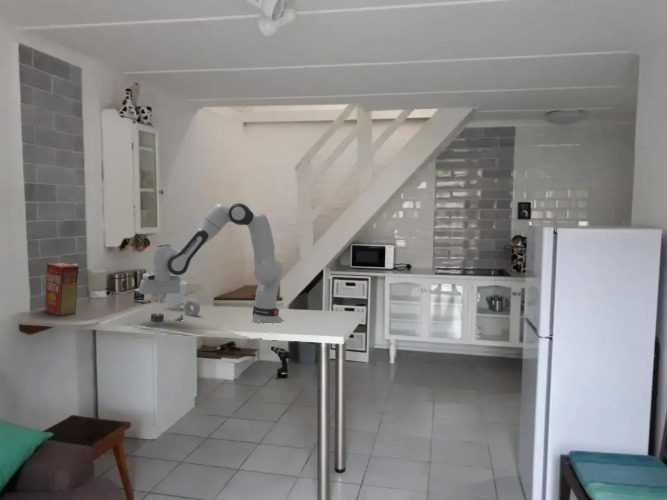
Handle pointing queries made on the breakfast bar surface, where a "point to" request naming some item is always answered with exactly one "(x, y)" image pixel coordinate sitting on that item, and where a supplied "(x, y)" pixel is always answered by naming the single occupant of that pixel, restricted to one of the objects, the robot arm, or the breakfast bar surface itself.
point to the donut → (195, 305)
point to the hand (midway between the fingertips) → (158, 302)
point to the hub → (157, 322)
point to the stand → (179, 318)
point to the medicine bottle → (141, 295)
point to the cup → (176, 297)
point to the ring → (157, 318)
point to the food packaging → (61, 288)
